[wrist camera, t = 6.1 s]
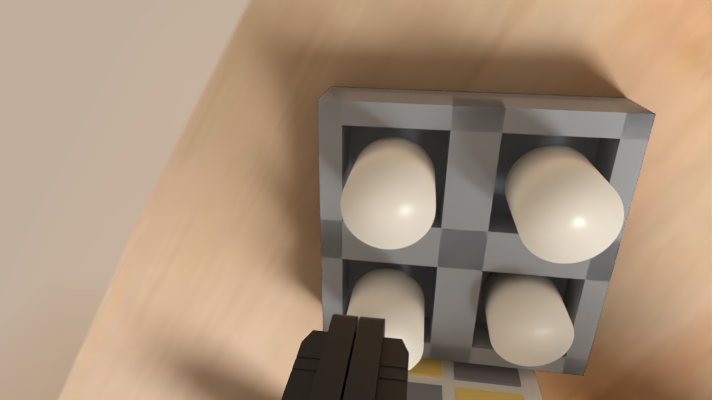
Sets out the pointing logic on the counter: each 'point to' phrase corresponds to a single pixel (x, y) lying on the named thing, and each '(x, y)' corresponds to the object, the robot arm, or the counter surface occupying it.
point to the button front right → (562, 205)
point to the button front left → (390, 194)
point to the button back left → (392, 307)
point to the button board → (473, 219)
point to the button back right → (526, 318)
